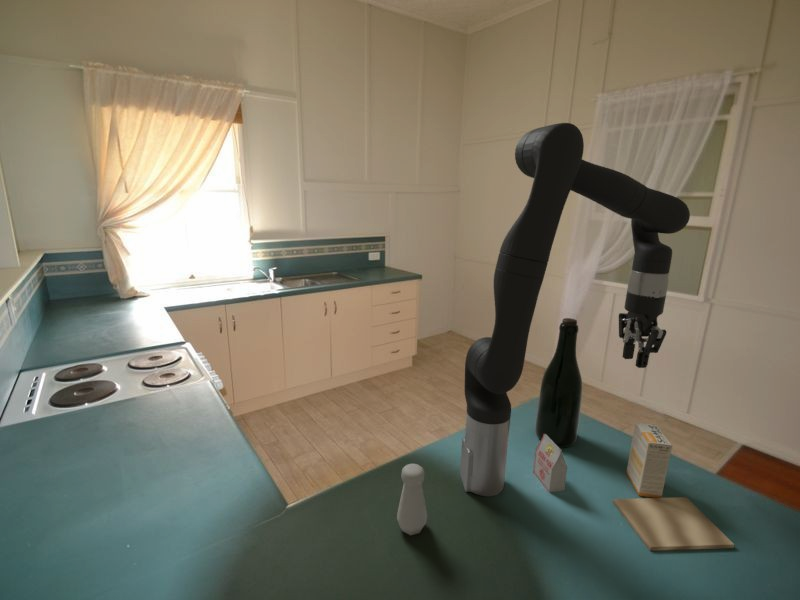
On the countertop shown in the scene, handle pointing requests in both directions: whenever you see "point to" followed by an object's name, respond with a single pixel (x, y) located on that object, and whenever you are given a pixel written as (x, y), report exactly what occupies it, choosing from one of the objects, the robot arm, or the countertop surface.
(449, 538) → the countertop surface
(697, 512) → the tan wooden board
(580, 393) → the dark green wine bottle
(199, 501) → the countertop surface
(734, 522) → the countertop surface
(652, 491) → the supplement box
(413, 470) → the salt shaker
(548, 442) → the white printed carton box
